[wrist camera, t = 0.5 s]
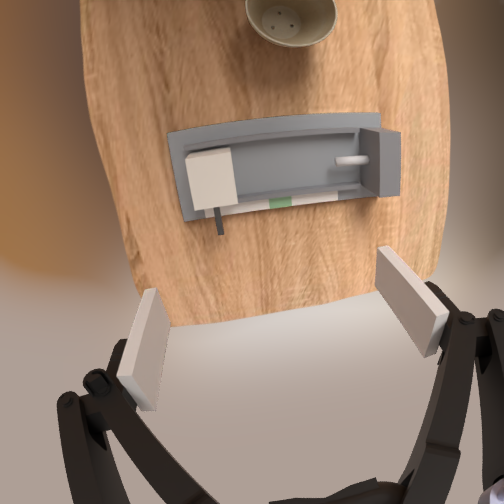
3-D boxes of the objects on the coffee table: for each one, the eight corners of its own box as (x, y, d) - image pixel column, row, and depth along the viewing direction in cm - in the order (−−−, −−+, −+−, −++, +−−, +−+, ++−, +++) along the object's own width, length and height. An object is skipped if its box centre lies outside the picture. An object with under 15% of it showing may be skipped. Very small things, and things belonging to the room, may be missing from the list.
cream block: (190, 152, 36) (184, 159, 31) (230, 146, 36) (230, 152, 31) (203, 222, 40) (200, 238, 36) (240, 216, 40) (242, 232, 36)
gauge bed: (168, 132, 35) (156, 138, 29) (376, 112, 36) (403, 116, 29) (185, 218, 41) (177, 240, 34) (377, 193, 41) (402, 210, 35)
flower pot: (313, 64, 32) (331, 56, 26) (235, 49, 31) (238, 37, 25) (323, 1, 28) (342, -16, 22) (248, -15, 27) (253, -36, 20)
